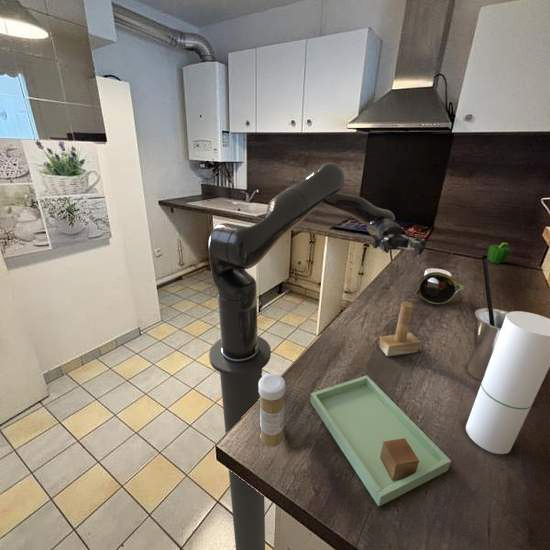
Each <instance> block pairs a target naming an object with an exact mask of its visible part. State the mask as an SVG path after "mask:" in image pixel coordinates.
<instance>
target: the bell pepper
mask: <svg viewBox="0 0 550 550" xmlns="http://www.w3.org/2000/svg"><path fill="white" fill-rule="evenodd" d="M508 245H509V243H508V242H501V243H500V245H498V244H494V245H492V244H491V245H490V246H488V249H487V258H488V262H490V263H492V264H497V265H498V264H504V263H505V262H506V260H508V257H509V256H510V254H511V248H510V247H508Z"/></svg>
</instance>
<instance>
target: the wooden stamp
mask: <svg viewBox="0 0 550 550" xmlns="http://www.w3.org/2000/svg"><path fill="white" fill-rule="evenodd" d="M413 310H414V304H413V303H412V302H409V301H402V302H401V303H400V308H399V314H398V318H397V324H396V330H395V334H389V335H382V336H379V339H378V340H379V341H378V342H379V349H380V350H381V351H382V353H384V355H385V356H386V357H392V356H399V355H400V356H401V355H406V354H412V353H418V352H419V348H421V344H422V341H421V340H420V339H418V337H416V335H414V334H413V333H412V332H409V327H410V324H411V318H412V315H413Z"/></svg>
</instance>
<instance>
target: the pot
mask: <svg viewBox="0 0 550 550" xmlns="http://www.w3.org/2000/svg"><path fill="white" fill-rule="evenodd" d="M430 278H434V279H436V280H437V281H438V284H437V289H438V290H439V289H441V290H440V291H439V292H438V293H437V294H435V295H432V294H431V293H429V292H428V291H427V288H428V280H429V279H430ZM469 286H470V284H465V283H461V282H459V281H458V280H455V278H453V277H450V276H449V275H447V274H444V273H441V272H432V273H428V274H426V275H425V276H424V275H423V276H422V277H421V278H420V279H419V281H418V283H417V286H416V287H415V289H414V290H413V292H412V294H415V295H417V296H420V298H422V299H423V300H424V301H426V302H428V303H430V304H435V305H442V304H446V303H448V302H450V301H452V299H454V297H455V296H456V294H457V293H458V292H459V291H460V290H463V289H464V287H469Z"/></svg>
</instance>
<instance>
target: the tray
mask: <svg viewBox="0 0 550 550" xmlns="http://www.w3.org/2000/svg"><path fill="white" fill-rule="evenodd" d="M309 401H310V404H311V406H312V407H313V408H314V409H315V412H316V413H317V414H318V416H319V418H320V419H321V421H322V422H323V423H324V425H325V427H326V429H327V430H328V431H329V433H330V435H331V436H332V438H333V439H334V441H335V442H336V444H337V445H338V447H339V448H340V450H341V451H342V453H343V454H344V456H345V457H346V459H347V461H348V462H349V463H350V466H351V467H352V468H353V469H354V471H355V473H356V474H357V476H358V477H359V479H360V480H361V482H362V484H363V485H364V486H365V488H366V490H367V491H368V493H369V494H370V496H371V498H372V499H373V501H374V503H375V504H376V505H377V506H378V507H381V506H383V505H385V504H387V503H388V502H391V501H393V500H394V499H396V498H398V497H401V496H402V495H404V494H406V493H407V492H408V493H409V491H411V490H413V489H415V488H417V487H419V486H421V485H423V484H425V483H427V482H428V481H431V480H433V479H434V478H436V477H438V476H440V475H442V474H444V473H446V472H447V471H449V468H450V466H451V463H452V460H451V459H450V458H449V457H448V456H447V455H446V454H445V453H444V452H443V451H442V450H441V448H439V447H438V445H436V444H435V443H434V441H432V440H431V439H430V438H429V437H428V436H427V434H426V433H424V432H423V431H422V430H421V428H419V426H418V425H417V424H415V422H414V421H412V419H410V417H409V416H408V415H407V414H406V413H405V412H404V411H403V410H402V408H400V407H399V406H398V405H397V404H396V403H395V402H394V401H393V400H392V399H391V398H390V397H389V396H388V395H387V394H386V393H385V392H384V391H383V389H381V388H380V387H379V386H378V384H376V382H375V381H374V380H372V378H370V376H369V375H367V374H366V375H363V376H360V377H357V378H353V379H351V380H348V381H345V382H341V383H338V384H336V385H333V386H332V385H331V386H330V387H326V388H322V389H320V390H317V391H314V392H310V400H309ZM403 438H405V439H406V441H407V442H408V444H409V445H410V447H411V448H412V450H413V452H414V453H415V455H416V456H417V458H418V459H419V463H418V467H417V470H416V473H414V474H412V475H410V476H408V477H406V478H404V479H400V480H395V481H392V480H391V478H390V476H389V474H388V472H387V470H386V468H385V466H384V464H383V462H382V461H381V459H380V455H381V450H382V446H383V442H385V441H391V440H397V439H403Z"/></svg>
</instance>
